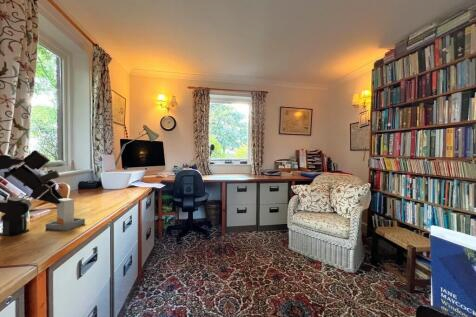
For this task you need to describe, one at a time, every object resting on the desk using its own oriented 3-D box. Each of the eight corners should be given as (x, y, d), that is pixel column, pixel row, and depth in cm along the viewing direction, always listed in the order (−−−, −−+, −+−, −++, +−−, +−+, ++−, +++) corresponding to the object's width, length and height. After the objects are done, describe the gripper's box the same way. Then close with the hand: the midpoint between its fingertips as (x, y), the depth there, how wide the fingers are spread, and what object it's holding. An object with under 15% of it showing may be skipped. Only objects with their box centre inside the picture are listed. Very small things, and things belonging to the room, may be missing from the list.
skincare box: (56, 225, 101) (56, 199, 101) (67, 222, 105) (67, 197, 105) (63, 227, 99) (63, 200, 98) (74, 225, 102) (74, 199, 102)
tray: (66, 231, 96) (66, 225, 96) (45, 229, 98) (45, 223, 98) (84, 223, 106) (84, 218, 106) (65, 222, 108) (66, 217, 108)
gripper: (41, 165, 89) (75, 191, 96) (49, 163, 105) (78, 185, 111) (14, 186, 85) (51, 211, 92) (26, 180, 101) (57, 202, 107)
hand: (61, 201), depth 101 cm, fingers open, 9 cm apart
